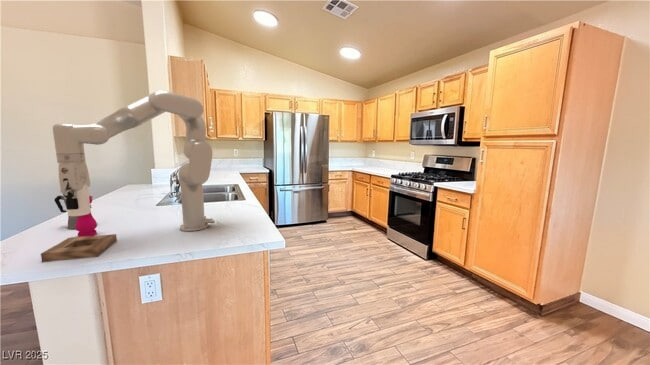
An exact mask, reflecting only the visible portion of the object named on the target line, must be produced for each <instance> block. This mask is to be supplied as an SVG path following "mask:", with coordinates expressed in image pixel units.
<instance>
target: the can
mask: <svg viewBox="0 0 650 365" xmlns="http://www.w3.org/2000/svg"><path fill="white" fill-rule="evenodd" d="M68 190H73V189H72V188H68ZM71 193H72V192H71ZM89 196H90V192H89V187H88V186H87V185H84V186H83V189H81V190H76V198H77V199H78V207H79V208H78V209H71V210H68V209H67V208H66V211H67V212H66V213H67V216H70V217H76V216H83V215H88V214H90V213H91V214H92V208H90V205H91V204H90V200H89Z"/></svg>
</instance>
